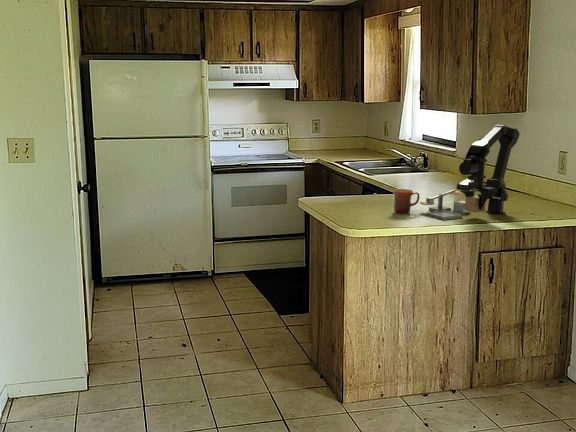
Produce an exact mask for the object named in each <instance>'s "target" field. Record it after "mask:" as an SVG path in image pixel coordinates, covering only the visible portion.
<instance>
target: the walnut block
mask: <svg viewBox="0 0 576 432" xmlns="http://www.w3.org/2000/svg"><path fill="white" fill-rule="evenodd" d="M464 201H465V210H467V211H469V212H471V213H480V212H481V213H482V212H486V203H485V204H484V206H483V208H482V209H481V210H479V197H478V195H474V196H467V197H466V196H465V200H464Z"/></svg>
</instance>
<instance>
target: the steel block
mask: <svg viewBox="0 0 576 432" xmlns="http://www.w3.org/2000/svg"><path fill="white" fill-rule="evenodd" d="M452 212H454V213H458V214H462V215H464V214H467V213H470V211H467V210H465V200H461V199H459V200H455V201H453V211H452Z"/></svg>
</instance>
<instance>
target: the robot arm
mask: <svg viewBox="0 0 576 432" xmlns="http://www.w3.org/2000/svg"><path fill="white" fill-rule="evenodd" d="M519 138H520V131H519V130H518V128H513V127H509V126H507V125H504V124H494V126H493V128H492V129H491V130H490V131H489V132H488V133H487V134H486V135H485V136H484V137H483V138H482V139H481V140H477V141H474V143H472V144H471V145H470V146H469V148H468V151H467V153H466V155H465V157H464V158H463V161H462V162H461V163H460V164H459V166H458V171H459V173H460V174H461V175H462V176H467V178H466V179H464V180H462V181H461V182H458V183H457V184H456V190H457V191H460V192H461V193H463V195H464V196H465V198H466V197H467V196H475V192H479V194H477V196H478V197H479V210H481V209H482V208H483V206H484V204H485V205H486V203H487V200H488V203H487V205H488V206H487V210H485V213H489V214H493V215H501V214H506V211H504V206H505V205H504V202H507V201H508V199H509V195H508V192H507V190H506V183H505V180H504V179H505V175H506V170H507V167H508V162H509V160H510V155H511V151H512V149H513V147H514V146H515V145H516V144H517V142H518V140H519ZM496 142H499V145H500V146H499V150H498V154H497V158H496V162H495V167H494V170H493V174H492V176H491V177H490V178H487V179H486V177H487V175H485V164H486V163H487V162H488V160H487V159H486V158H487V156H488V155H489V153H490V152H491V150H490V149H491V147H492V146H493V145H494V144H495V143H496ZM485 179H486V183H484V181H485Z"/></svg>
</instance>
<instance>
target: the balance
mask: <svg viewBox="0 0 576 432" xmlns="http://www.w3.org/2000/svg"><path fill="white" fill-rule="evenodd" d="M461 194H462V192H461V191H460V190H455V189H452V190H447V191H446V192H444V193H439V194H437V195H436V196H433V197H431V196H430V197H426V198H425V199H426V200H422V201H419V204H420V205H423V206H429V207H428V211H429V212H435V211H443V210H446V211H450V212H452V208H451V207H449V206H446V205H443V201H444V196H448V195H452V196H453V195H456V196H457V195H461ZM436 199H437V206H435V200H436ZM432 205H433V206H432ZM431 206H432V207H431Z"/></svg>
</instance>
